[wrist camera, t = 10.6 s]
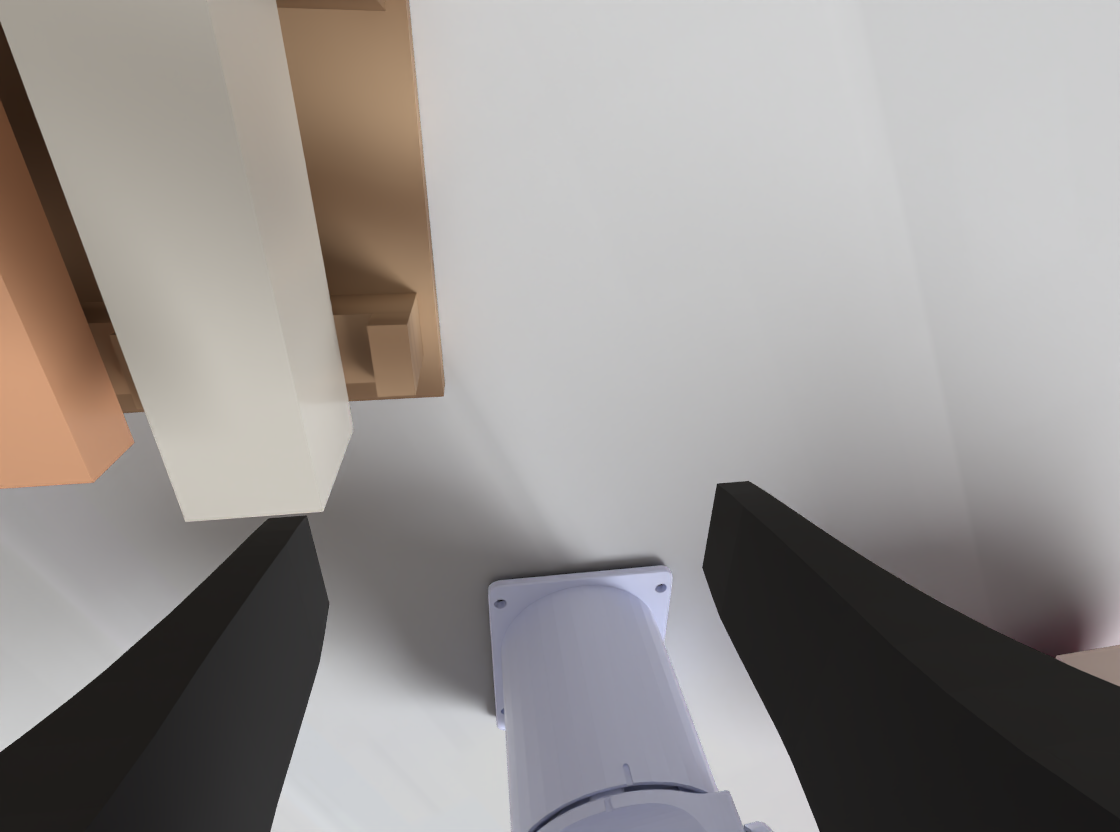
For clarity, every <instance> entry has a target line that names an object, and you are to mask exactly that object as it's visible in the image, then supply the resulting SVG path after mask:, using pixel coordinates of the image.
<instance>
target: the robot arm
mask: <svg viewBox="0 0 1120 832" xmlns="http://www.w3.org/2000/svg"><path fill="white" fill-rule="evenodd" d="M702 568H703V571H704V574H705V577H706V580H707V583H708V585H709V588H710V591H711V594H712V597H713V600H714V602H715V605H716V608H717V610H718V613H719V616H720V618H721V620H722V622H723V624H724V626H725V629H726V631H727V633H728V635H729V637H730V639H731V641H732V643H733V645H734V647H735V649H736V651H737V653H738V654H739V656H740V658H741V660H742V662H743V664H744V666H745V668H746V670H747V672H748V674H749V676H750V678H751V680H752V682H753V684H754V686H755V688H756V690H757V692H758V694H759V696H760V698H761V699H762V701H763V703H764V705H765V707H766V709H767V711H768V713H769V715H770V717H771V719H772V721H773V723H774V725H775V727H776V729H777V731H778V733H779V735H780V737H781V739H782V741H783V743H784V746H785V748H786V750H787V752H788V754H789V756H790V758H791V761H792V763H793V765H794V768H795V770H796V773H797V775H798V778H799V780H800V783H801V785H802V788H803V790H804V793H805V795H806V798H807V801H808V803H809V806H810V808H811V811H812V813H813V816H814V818H815V821H816V823H817V826H818V828H819V831H820V832H1120V686H1118V685H1115V684H1113V683H1110V682H1108V681H1106V680H1103V679H1101V678H1098V677H1096V676H1093V675H1091V674H1089V673H1086V672H1084V671H1082V670H1079V669H1077V668H1075V667H1073V666H1070V665H1068V664H1066V663H1064V662H1061V661H1059V660H1057V659H1055V658H1053V657H1050V656H1048V655H1046V654H1044V653H1041V652H1039V651H1037V650H1035V649H1033V648H1030V647H1028V646H1026V645H1024V644H1022V643H1019V642H1017V641H1015V640H1013V639H1011V638H1009V637H1007V636H1005V635H1003V634H1001V633H999V632H997V631H995V630H993V629H991V628H989V627H987V626H985V625H983V624H981V623H979V622H977V621H975V620H973V619H971V618H969V617H967V616H966V615H964V614H962V613H960V612H958V611H956V610H954V609H952V608H950V607H948V606H946V605H944V604H942V603H941V602H939V601H937V600H935V599H933V598H932V597H930V596H928V595H926V594H924V593H923V592H921V591H919V590H917V589H916V588H914V587H912V586H911V585H909V584H907V583H906V582H904V581H902V580H901V579H899V578H897V577H896V576H894V575H892V574H891V573H889V572H887V571H886V570H884V569H882V568H880V567H879V566H877V565H876V564H874V563H872V562H871V561H869V560H868V559H866V558H865V557H863V556H861V555H860V554H858V553H857V552H855V551H854V550H852V549H850V548H849V547H847V546H846V545H844V544H843V543H841V542H840V541H838V540H837V539H835V538H834V537H832V536H831V535H829V534H828V533H826V532H825V531H823V530H822V529H820V528H819V527H817V526H816V525H814V524H813V523H811V522H810V521H808V520H807V519H805V518H804V517H802V516H801V515H800V514H798V513H797V512H795V511H794V510H792V509H791V508H789V507H788V506H786V505H785V504H783V503H782V502H780V501H779V500H777V499H776V498H774V497H773V496H771V495H770V494H768V493H767V492H765V491H764V490H762V489H761V488H759V487H757V486H756V485H754V484H752V483H751V482H749V481H745V482H732V483H719V484H717V487H716V493H715V498H714V504H713V510H712V516H711V521H710V527H709V533H708V538H707V544H706V550H705V556H704V561H703V567H702ZM672 581H673V575H672V572H671V570H670V569H669V567H667V566H663V565H659V566H649V567H638V568H627V569H616V570H605V571H595V572H584V573H573V574H562V575H551V576H541V577H530V578H519V579H508V580H499V581H495V582H493V583H491V584H490V586H489V587H488V603H489V618H490V632H491V647H492V662H493V676H494V691H495V706H496V721H497V727H498V728H499V729H501V730H505V732H506V749H507V766H508V784H509V801H510V819H511V832H773V831H772V830H771V828H770V827H769V826H768V825H766V824H765V823H764V822H759V821H756V822H752V823H749V824H745V825H744V828H743V825H742V823H741V820H740V817H739V815H738V812H737V810H736V807H735V804H734V802H733V799H732V797H731V794H730V792H729V791H727V790H724V791H720V792H719V791H718V788H717V785H716V783H715V780H714V777H713V775H712V772H711V769H710V766H709V764H708V761H707V758H706V756H705V753H704V750H703V747H702V745H701V742H700V739H699V737H698V734H697V731H696V728H695V726H694V723H693V720H692V717H691V715H690V712H689V709H688V707H687V704H686V701H685V698H684V696H683V693H682V690H681V688H680V685H679V682H678V679H677V677H676V674H675V671H674V669H673V666H672V663H671V660H670V658H669V655H668V652H667V650H666V647H665V644H664V641H665V634H666V626H667V619H668V611H669V604H670V596H671V588H672ZM659 584H662V585H661V586H657V585H659ZM500 599H502V600H504V601H501V602H498V601H497V600H500ZM328 609H329V601H328V597H327V593H326V589H325V585H324V581H323V577H322V573H321V569H320V566H319V562H318V558H317V554H316V550H315V546H314V542H313V538H312V534H311V530H310V526H309V523H308V519H307V516H295V517H282V518H269V519H267V520H266V521H265V522H264V523H263V524H262V525H261V526H260V527H259V528H258V529H257V530H256V531H255V532H254V533H253V534H252V535H251V536H250V537H248V538H247V539H246V540H245V541H244V542H243V543H242V544H241V545H240V546H239V547H238V548H237V549H236V550H235V551H234V552H233V553H232V554H231V555H230V556H229V557H228V558H227V559H226V560H225V561H224V562H223V563H222V564H221V565H220V566H219V567H218V568H217V569H216V570H215V571H214V572H213V573H212V574H211V575H210V576H209V577H208V578H207V579H206V580H205V581H203V582H202V583H201V584H200V585H199V586H198V587H197V588H196V589H195V590H194V591H193V592H192V593H191V594H190V595H189V596H188V597H187V598H186V599H185V600H184V601H182V602H181V603H180V604H179V605H178V606H177V607H176V608H175V609H174V610H173V611H172V612H171V613H170V614H169V615H168V616H166V617H165V618H164V619H163V620H162V621H161V622H160V623H158V624H157V625H156V626H155V627H154V628H153V629H152V630H151V631H149V632H148V633H147V634H146V635H145V636H144V637H143V638H141V639H140V640H139V641H138V642H137V643H136V644H135V645H133V646H132V647H131V648H130V649H129V650H128V651H127V652H126V653H124V654H123V655H122V656H121V657H120V658H119V659H118V660H116V661H115V662H114V663H113V664H112V665H111V666H110V667H109V668H107V669H106V670H105V671H104V672H103V673H101V674H100V675H99V676H98V677H97V678H95V679H94V680H93V681H92V682H91V683H89V684H88V685H87V686H86V687H84V688H83V689H82V690H81V691H79V692H78V693H77V694H76V695H74V696H73V697H72V698H71V699H69V700H68V701H67V702H66V703H64V704H63V705H62V706H60V707H59V708H58V709H57V710H55V711H54V712H53V713H51V714H50V715H49V716H47V717H46V718H45V719H44V720H42V721H41V722H40V723H38V724H37V725H36V726H34V727H33V728H32V729H31V730H29V731H28V732H27V733H25V734H24V735H23V736H21V737H20V738H19V739H17V740H16V741H15V742H13V743H12V744H11V745H9V746H8V747H7V748H5V749H4V750H3V751H1V752H0V832H270V831H271V827H272V823H273V819H274V815H275V811H276V807H277V804H278V800H279V797H280V793H281V790H282V787H283V784H284V780H285V777H286V774H287V770H288V767H289V764H290V760H291V757H292V754H293V750H294V747H295V744H296V740H297V737H298V734H299V730H300V727H301V724H302V720H303V717H304V714H305V710H306V707H307V704H308V700H309V697H310V693H311V690H312V687H313V683H314V680H315V676H316V673H317V669H318V666H319V662H320V657H321V651H322V646H323V640H324V635H325V628H326V622H327V615H328Z"/></svg>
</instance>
